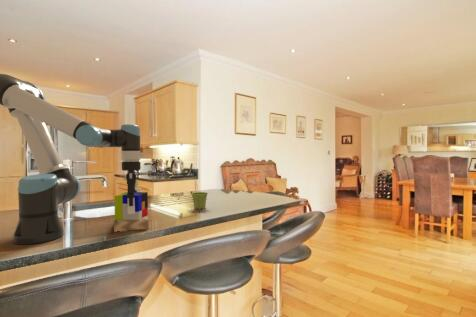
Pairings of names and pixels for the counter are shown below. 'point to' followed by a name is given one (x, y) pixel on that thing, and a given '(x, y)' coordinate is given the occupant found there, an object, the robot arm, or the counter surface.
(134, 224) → the plinth
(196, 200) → the plant pot
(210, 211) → the counter surface
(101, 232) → the counter surface
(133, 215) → the puzzle toy
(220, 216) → the counter surface
